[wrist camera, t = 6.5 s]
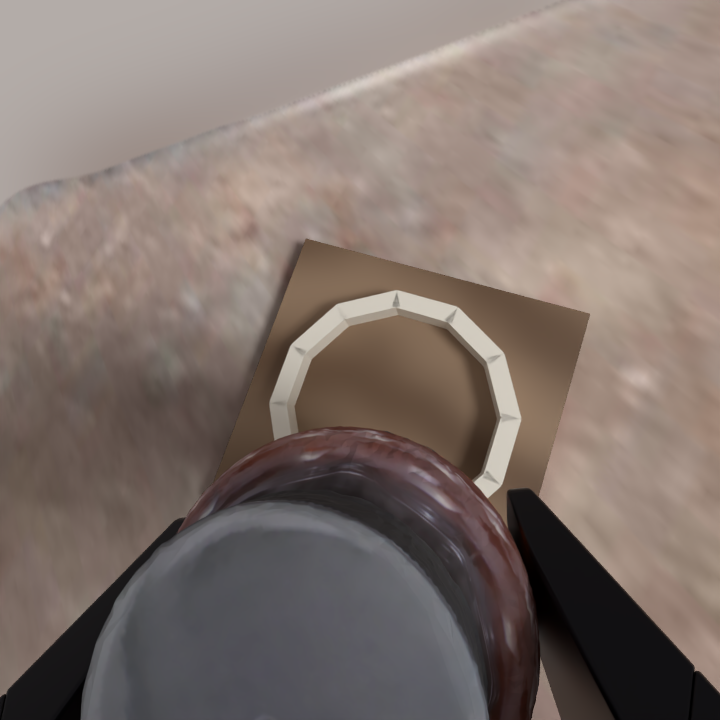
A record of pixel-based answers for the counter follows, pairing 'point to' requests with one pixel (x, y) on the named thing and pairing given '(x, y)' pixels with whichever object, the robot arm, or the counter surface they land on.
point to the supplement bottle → (326, 596)
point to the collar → (420, 311)
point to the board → (417, 366)
